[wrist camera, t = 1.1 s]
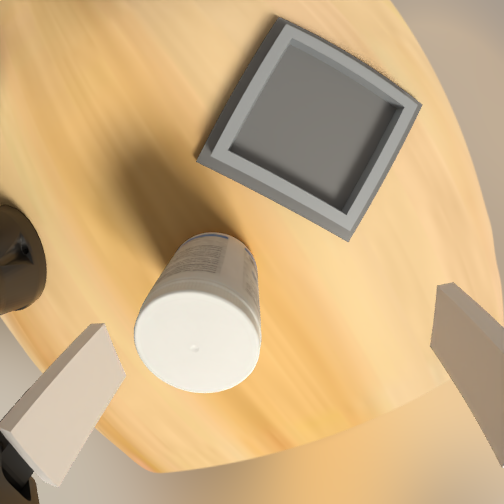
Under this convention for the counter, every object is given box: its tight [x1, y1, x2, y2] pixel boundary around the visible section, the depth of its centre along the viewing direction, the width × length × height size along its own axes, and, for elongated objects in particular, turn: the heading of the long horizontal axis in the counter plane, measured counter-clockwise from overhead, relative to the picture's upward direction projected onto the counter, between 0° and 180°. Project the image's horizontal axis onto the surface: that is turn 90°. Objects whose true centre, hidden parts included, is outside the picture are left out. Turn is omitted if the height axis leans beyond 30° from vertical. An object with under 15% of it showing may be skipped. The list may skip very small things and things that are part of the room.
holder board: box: [196, 17, 422, 242], centre depth 28 cm, size 18×18×3 cm
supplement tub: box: [134, 232, 261, 393], centre depth 28 cm, size 10×10×15 cm
